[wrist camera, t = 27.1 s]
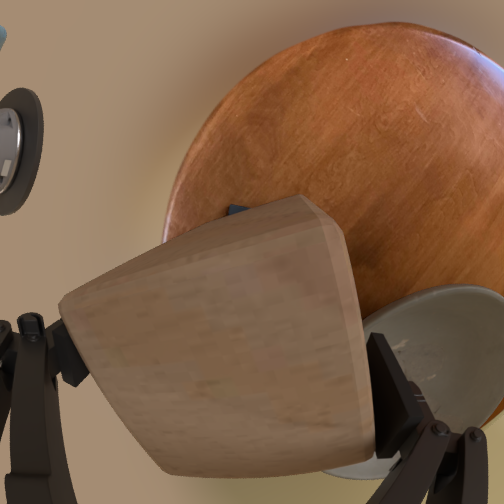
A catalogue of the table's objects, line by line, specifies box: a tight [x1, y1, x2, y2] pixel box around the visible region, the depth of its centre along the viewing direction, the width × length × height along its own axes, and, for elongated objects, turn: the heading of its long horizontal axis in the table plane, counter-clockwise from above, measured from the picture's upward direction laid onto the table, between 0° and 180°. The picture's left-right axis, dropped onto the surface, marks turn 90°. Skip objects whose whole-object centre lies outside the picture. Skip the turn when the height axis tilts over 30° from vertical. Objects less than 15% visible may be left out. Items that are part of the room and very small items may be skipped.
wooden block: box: [58, 194, 376, 478], centre depth 18 cm, size 10×10×20 cm
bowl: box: [322, 284, 504, 480], centre depth 25 cm, size 27×28×8 cm
